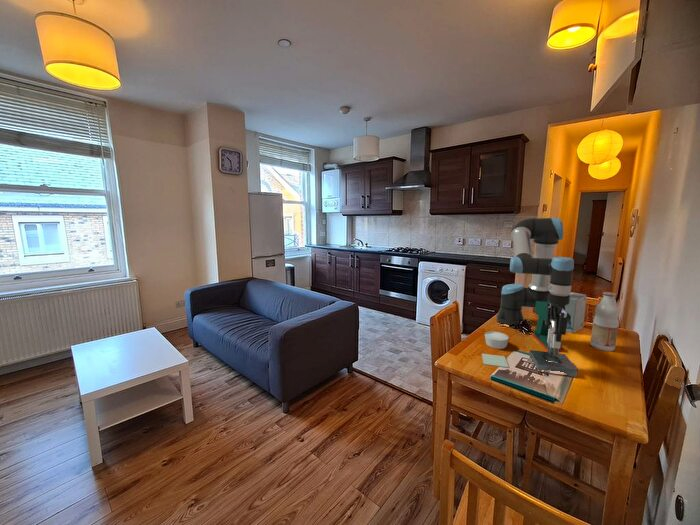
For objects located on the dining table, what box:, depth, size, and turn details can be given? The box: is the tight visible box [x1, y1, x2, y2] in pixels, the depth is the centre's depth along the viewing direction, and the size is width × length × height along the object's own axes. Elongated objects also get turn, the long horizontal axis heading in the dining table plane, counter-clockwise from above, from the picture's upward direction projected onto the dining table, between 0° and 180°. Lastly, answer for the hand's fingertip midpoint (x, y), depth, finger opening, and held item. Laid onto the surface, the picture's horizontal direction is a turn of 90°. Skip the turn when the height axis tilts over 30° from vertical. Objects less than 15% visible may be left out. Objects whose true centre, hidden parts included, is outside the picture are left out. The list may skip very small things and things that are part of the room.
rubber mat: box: [481, 353, 509, 368], centre depth 134 cm, size 10×10×1 cm
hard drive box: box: [565, 291, 587, 334], centre depth 167 cm, size 16×8×20 cm, turn 124°
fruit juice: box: [590, 291, 621, 352], centre depth 143 cm, size 9×9×28 cm
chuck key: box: [545, 319, 560, 355], centre depth 126 cm, size 4×8×15 cm, turn 79°
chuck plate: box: [528, 349, 578, 378], centre depth 128 cm, size 14×14×4 cm
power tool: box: [531, 301, 573, 353], centre depth 142 cm, size 32×7×20 cm, turn 168°
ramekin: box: [484, 331, 510, 350], centre depth 149 cm, size 11×11×5 cm
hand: (553, 345), depth 127 cm, fingers closed on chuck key, 4 cm apart
